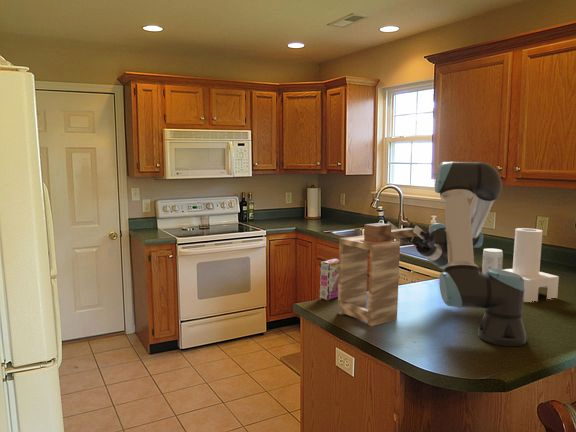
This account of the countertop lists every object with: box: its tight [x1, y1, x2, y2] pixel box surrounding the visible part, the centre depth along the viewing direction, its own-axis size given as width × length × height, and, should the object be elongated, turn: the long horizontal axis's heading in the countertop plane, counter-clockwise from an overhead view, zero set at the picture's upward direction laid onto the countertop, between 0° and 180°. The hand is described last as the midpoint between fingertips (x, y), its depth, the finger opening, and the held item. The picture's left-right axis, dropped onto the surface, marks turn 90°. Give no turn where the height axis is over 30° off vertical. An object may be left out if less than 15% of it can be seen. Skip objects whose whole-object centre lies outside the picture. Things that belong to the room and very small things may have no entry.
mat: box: [360, 239, 396, 244], centre depth 179 cm, size 8×10×1 cm
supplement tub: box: [481, 247, 504, 274], centre depth 248 cm, size 10×10×15 cm
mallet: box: [363, 222, 416, 243], centre depth 183 cm, size 24×6×6 cm, turn 127°
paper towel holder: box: [503, 227, 560, 303], centre depth 216 cm, size 19×19×30 cm
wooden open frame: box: [337, 234, 401, 327], centre depth 184 cm, size 18×14×30 cm
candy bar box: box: [319, 258, 339, 302], centre depth 209 cm, size 11×5×16 cm, turn 141°
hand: (400, 226), depth 186 cm, fingers open, 13 cm apart
